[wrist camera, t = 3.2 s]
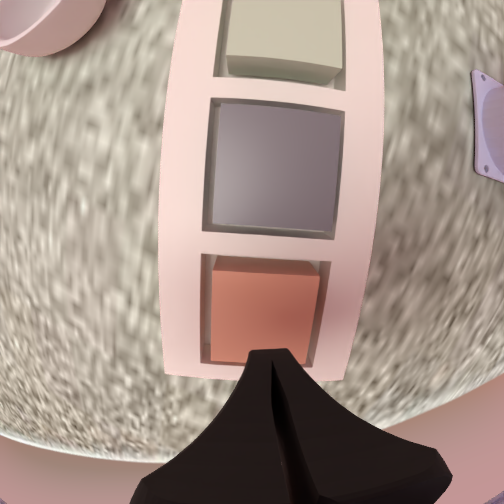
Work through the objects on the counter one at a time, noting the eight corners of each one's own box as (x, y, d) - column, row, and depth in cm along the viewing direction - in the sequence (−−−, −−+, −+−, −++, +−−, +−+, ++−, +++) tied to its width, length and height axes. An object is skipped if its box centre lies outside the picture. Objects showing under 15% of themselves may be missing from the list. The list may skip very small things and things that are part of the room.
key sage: (327, 11, 11) (339, -12, 9) (326, 84, 13) (342, 68, 10) (237, 0, 11) (236, -25, 9) (228, 74, 12) (225, 54, 10)
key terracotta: (308, 261, 16) (320, 276, 13) (297, 339, 17) (305, 363, 14) (217, 255, 15) (212, 270, 13) (214, 336, 17) (210, 360, 14)
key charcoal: (324, 125, 13) (341, 115, 11) (317, 222, 14) (331, 231, 12) (224, 115, 13) (220, 103, 10) (218, 215, 14) (212, 223, 12)
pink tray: (359, 15, 13) (377, -7, 10) (330, 352, 18) (342, 380, 15) (197, -3, 12) (189, -30, 10) (175, 345, 18) (165, 373, 15)
